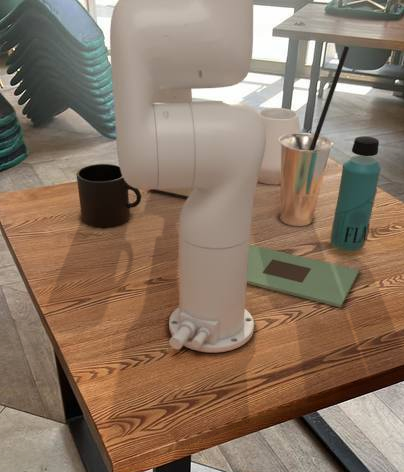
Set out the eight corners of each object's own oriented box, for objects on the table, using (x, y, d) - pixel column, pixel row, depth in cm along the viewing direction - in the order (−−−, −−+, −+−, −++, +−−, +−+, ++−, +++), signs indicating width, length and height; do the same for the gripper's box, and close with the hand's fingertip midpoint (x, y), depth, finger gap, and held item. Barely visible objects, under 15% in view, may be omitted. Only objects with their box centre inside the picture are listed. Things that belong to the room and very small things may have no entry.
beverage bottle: (337, 261, 101) (358, 147, 89) (321, 243, 106) (339, 133, 94) (370, 256, 103) (396, 144, 90) (353, 240, 108) (375, 131, 95)
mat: (340, 307, 90) (341, 303, 90) (224, 277, 96) (224, 274, 96) (358, 272, 98) (359, 269, 98) (250, 247, 105) (250, 244, 104)
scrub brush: (189, 200, 120) (190, 148, 114) (148, 191, 124) (146, 140, 117) (200, 192, 124) (200, 141, 117) (159, 183, 127) (157, 133, 120)
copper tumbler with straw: (323, 207, 119) (349, 45, 100) (327, 232, 110) (356, 59, 91) (271, 204, 120) (287, 43, 101) (270, 228, 111) (288, 57, 92)
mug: (137, 230, 109) (134, 184, 104) (76, 226, 110) (70, 180, 105) (146, 209, 117) (144, 165, 111) (89, 205, 118) (84, 162, 112)
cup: (263, 192, 124) (269, 126, 116) (232, 171, 133) (235, 109, 125) (313, 181, 129) (322, 117, 121) (279, 162, 138) (285, 101, 130)
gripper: (174, 62, 116) (175, 153, 127) (133, 79, 104) (139, 178, 116) (207, 66, 113) (206, 159, 125) (170, 84, 102) (171, 184, 114)
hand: (173, 167), depth 120 cm, fingers closed on scrub brush, 2 cm apart
